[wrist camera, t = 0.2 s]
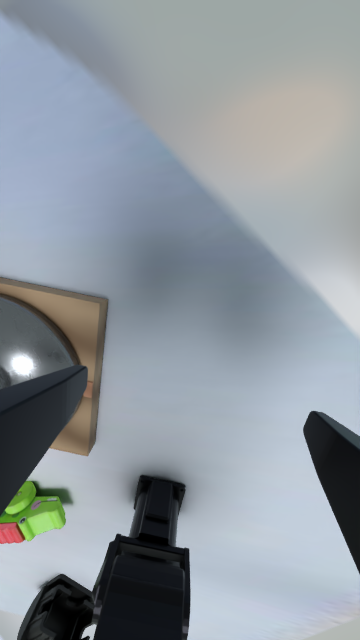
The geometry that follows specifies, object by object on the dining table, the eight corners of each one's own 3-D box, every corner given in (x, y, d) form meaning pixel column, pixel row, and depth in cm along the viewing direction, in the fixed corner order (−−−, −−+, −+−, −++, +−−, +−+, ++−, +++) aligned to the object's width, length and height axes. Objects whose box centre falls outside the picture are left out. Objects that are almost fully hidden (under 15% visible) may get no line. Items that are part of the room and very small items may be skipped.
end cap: (39, 585, 40) (9, 648, 34) (59, 571, 38) (32, 635, 32) (81, 610, 42) (60, 675, 35) (103, 598, 40) (85, 664, 33)
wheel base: (94, 443, 29) (86, 457, 27) (-49, 411, 29) (-68, 424, 27) (107, 299, 23) (99, 304, 21) (-73, 262, 23) (-100, 263, 21)
